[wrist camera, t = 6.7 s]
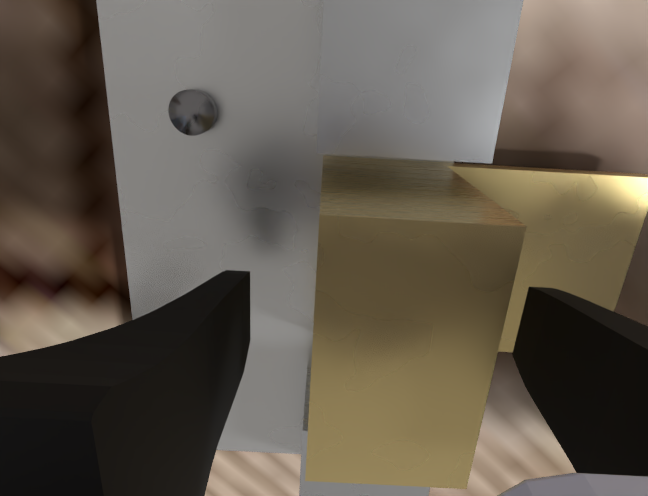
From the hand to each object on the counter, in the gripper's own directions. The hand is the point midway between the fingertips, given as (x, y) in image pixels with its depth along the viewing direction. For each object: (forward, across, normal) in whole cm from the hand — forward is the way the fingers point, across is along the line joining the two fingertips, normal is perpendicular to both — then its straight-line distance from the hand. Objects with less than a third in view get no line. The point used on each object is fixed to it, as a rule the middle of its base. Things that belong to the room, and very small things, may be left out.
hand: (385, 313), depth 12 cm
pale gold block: (+3, -3, 0) cm, 4 cm away
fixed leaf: (+4, +3, 0) cm, 5 cm away
